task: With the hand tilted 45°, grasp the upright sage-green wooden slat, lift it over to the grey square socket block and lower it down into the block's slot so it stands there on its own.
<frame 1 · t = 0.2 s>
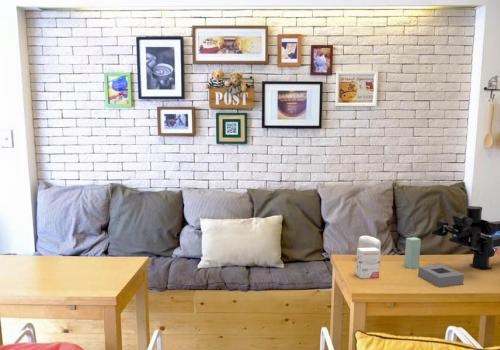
hand: (440, 236, 174), 17 cm above the table, fingers open, 9 cm apart
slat: (411, 266, 184), on the table
grey square socket block: (440, 279, 169), on the table
ink box: (367, 276, 172), on the table
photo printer: (368, 263, 188), on the table
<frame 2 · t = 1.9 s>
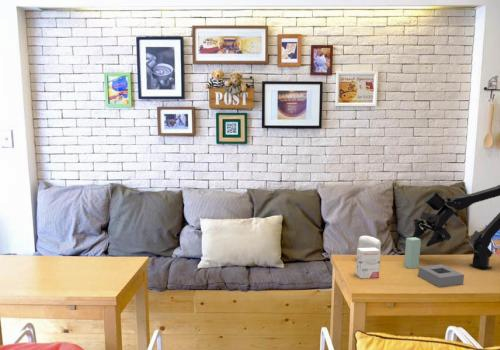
hand: (419, 242, 183), 11 cm above the table, fingers open, 9 cm apart
nothing on the table moved.
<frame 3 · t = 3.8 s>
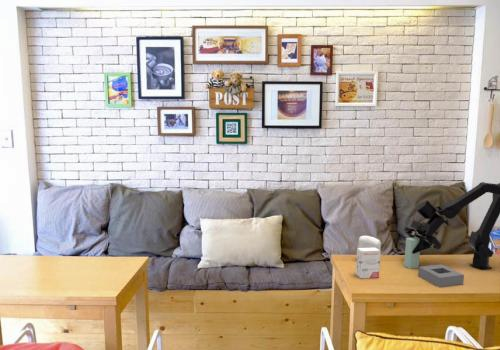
hand: (409, 251, 182), 7 cm above the table, fingers closed on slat, 3 cm apart
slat: (411, 266, 184), on the table, touching gripper
everything else where it was.
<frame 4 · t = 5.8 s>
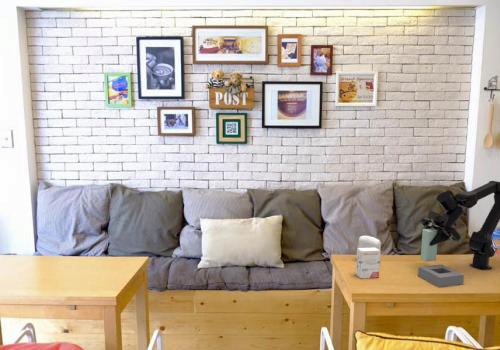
hand: (426, 243, 173), 13 cm above the table, fingers closed on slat, 3 cm apart
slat: (428, 259, 174), point 6 cm above the table, touching gripper
everything else where it was.
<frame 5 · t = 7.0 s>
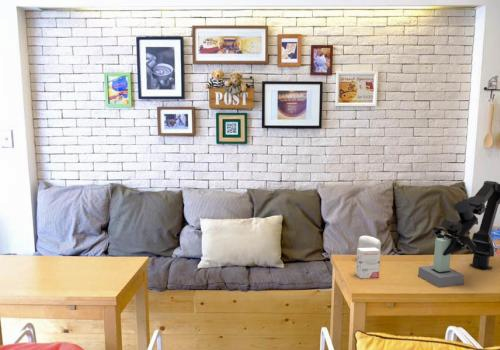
hand: (439, 253, 167), 11 cm above the table, fingers closed on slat, 3 cm apart
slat: (441, 269, 168), point 4 cm above the table, touching gripper
everything else where it was.
when the fingers open (9 cm above the table, at t = 7.8 s): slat stays where it is, resting on grey square socket block.
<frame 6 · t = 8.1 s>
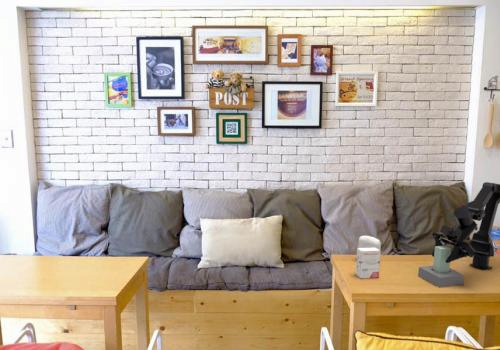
hand: (439, 259, 167), 9 cm above the table, fingers open, 7 cm apart
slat: (440, 277, 169), point 1 cm above the table, touching grey square socket block
everything else where it was.
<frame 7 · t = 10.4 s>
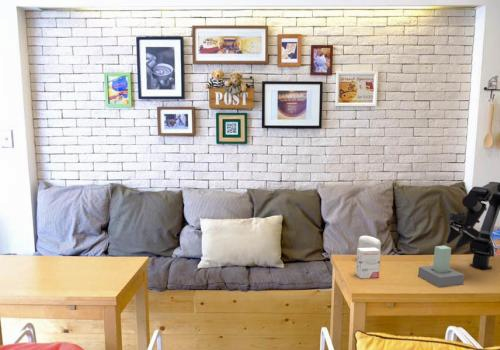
hand: (451, 245, 174), 13 cm above the table, fingers open, 9 cm apart
nothing on the table moved.
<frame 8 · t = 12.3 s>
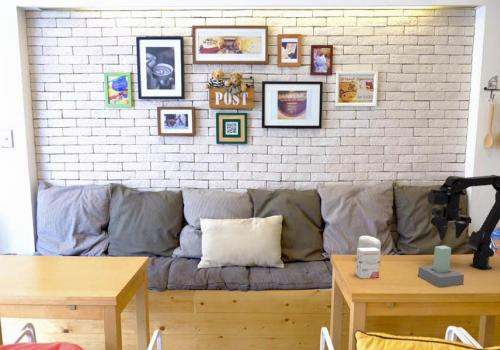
hand: (449, 239, 182), 13 cm above the table, fingers open, 9 cm apart
nothing on the table moved.
at the end: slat 0.0 cm off-centre on the grey square socket block, point 1.0 cm above the grey square socket block's base; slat tilted 0°; the gripper is holding nothing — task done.
